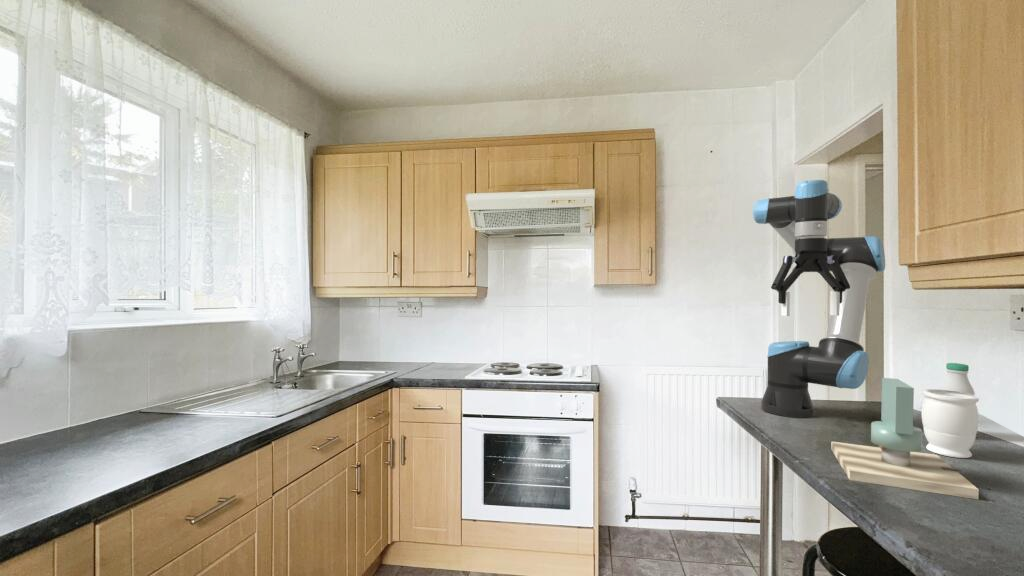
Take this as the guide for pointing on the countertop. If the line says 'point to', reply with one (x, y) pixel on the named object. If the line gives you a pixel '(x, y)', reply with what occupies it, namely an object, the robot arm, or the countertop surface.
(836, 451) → the base
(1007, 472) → the countertop surface
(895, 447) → the mint bar with ball
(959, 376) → the milk bottle
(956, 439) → the jar
